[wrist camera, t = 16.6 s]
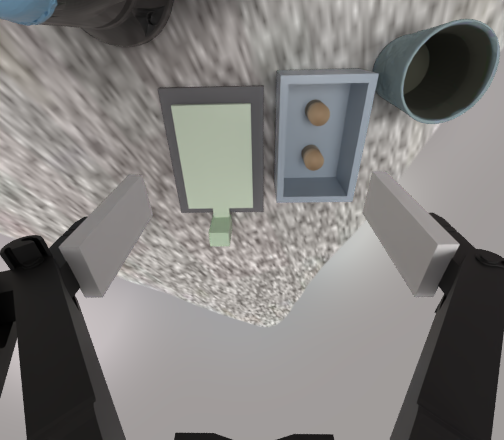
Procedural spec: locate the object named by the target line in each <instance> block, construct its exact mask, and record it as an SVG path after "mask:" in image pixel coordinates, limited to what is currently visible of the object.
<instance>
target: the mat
mask: <svg viewBox="0 0 504 440" xmlns="http://www.w3.org/2000/svg"><path fill="white" fill-rule="evenodd" d="M158 93H159V98H160V103H161V109H162V114H163V119H164V124H165V129H166V135H167V140H168V145H169V150H170V155H171V161H172V166H173V171H174V176H175V181H176V187H177V192H178V197H179V202H180V207H181V213H194V212H213V208H206V209H189V207H188V201H187V196H186V190H185V184H184V178H183V173H182V167H181V161H180V156H179V150H178V144H177V138H176V133H175V127H174V121H173V116H172V110H171V105H175V104H222V103H251V139H252V181H253V208H230V212H263V110H264V86H263V85H262V86H216V87H171V88H158Z"/></svg>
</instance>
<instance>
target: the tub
mask: <svg viewBox="0 0 504 440" xmlns="http://www.w3.org/2000/svg"><path fill="white" fill-rule="evenodd" d="M378 75H379V73H375V72H371V71H367V70H363V69H359V68H352V69H309V70H277V86H276V126H275V166H274V184H275V193H276V201H277V203H278V202H352V201H353V196H354V191H355V186H356V182H357V177H358V172H359V167H360V162H361V157H362V153H363V148H364V143H365V138H366V133H367V128H368V124H369V119H370V114H371V109H372V104H373V99H374V95H375V90H376V85H377V80H378ZM315 99H316V100H320V101H321V102H322V103H324V104H325V105H326V106H327V107H328V108H329V110H330V117H329V120H328V121H327V122H326V123H325V124H324V125H322V126H315V125H313V124H312V123H311V122H310V121H309V119H308V118H307V116H306V114H305V107H306V105H307V104H308V103H309V102H310V101H311V100H315ZM307 145H315V146H317V147H318V149H319V151H320V152H321V154H322V156H323V158H324V164H323V166H322V167H321V168H320V169H318V170H315V171H311V170H309V169H307V168H306V166H305V163H304V161H303V158H302V155H301V153H302V150H303V148H304V147H305V146H307Z"/></svg>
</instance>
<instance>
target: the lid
mask: <svg viewBox="0 0 504 440" xmlns="http://www.w3.org/2000/svg"><path fill="white" fill-rule="evenodd" d="M171 110H172V116H173V121H174V127H175V133H176V138H177V144H178V150H179V156H180V161H181V167H182V173H183V178H184V184H185V190H186V196H187V201H188V207H189V209H206V208H213V218H212V221H211V225H210V229H209V240H210V246H230V240H231V233H232V217H231V215H230V208H253V181H252V139H251V103H222V104H175V105H171Z"/></svg>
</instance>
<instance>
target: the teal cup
mask: <svg viewBox="0 0 504 440" xmlns="http://www.w3.org/2000/svg"><path fill="white" fill-rule="evenodd" d="M499 57H500V47H499V42H498V38H497V36H496V35H495V33H494V31H493V30H492V29H491V28H490V27H489V26H487V25H486V24H484V23H482V22H480V21H477V20H473V19H460V20H455V21H452V22H449V23H446V24H443V25H440V26H437V27H433V28H430V29H427V30H422V31H418V32H417V33H413V34H408V35H404V36H401V37H399V38H397V39H395V40H393V41H392V42H391V43H389V44H388V45H387V46H386V47H385V48H384V49H383V50H382V52H381V53H380V54H379V56H378V58H377V59H376V62H375V64H374V68H373V72H375V73H379V75H378V80H377V85H376V92H377V93H378V94H379V95H380V96H381V97H382V98H383V99H385V100H387V101H389V102H390V103H391V104H393V105H395V106H396V107H398V108H399V109H400V110H402V111H404V112H405V113H406V114H408V115H409V116H410V117H412V118H413V119H415V120H417V121H419V122H421V123H426V124H438V123H443V122H446V121H449V120H452V119H454V118H456V117H458V116H460V115H461V114H463V113H465V112H466V111H467V110H469V109H470V108H471V107H473V106H474V105H475V104H476V103H477V101H479V99H481V97H482V96H483V95H484V93H485V92H486V91H487V89H488V88H489V86H490V84H491V82H492V80H493V77H494V75H495V73H496V70H497V66H498V63H499Z"/></svg>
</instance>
